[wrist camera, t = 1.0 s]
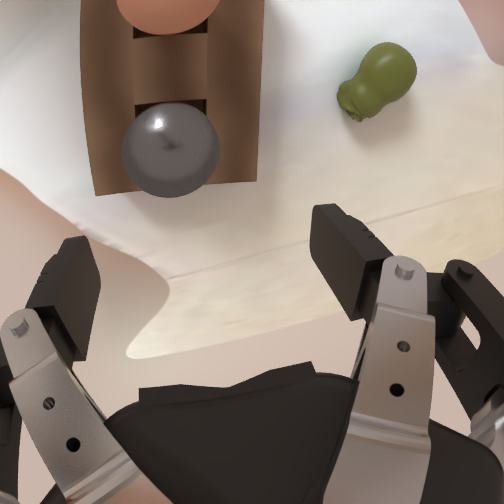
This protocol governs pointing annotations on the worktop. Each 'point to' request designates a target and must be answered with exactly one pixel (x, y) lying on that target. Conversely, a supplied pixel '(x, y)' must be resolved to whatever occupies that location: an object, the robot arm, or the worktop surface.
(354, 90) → the pear
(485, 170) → the worktop surface
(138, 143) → the grey knob
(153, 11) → the tan round knob
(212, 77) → the brown wooden block
